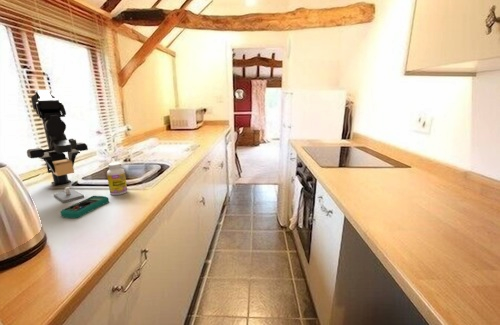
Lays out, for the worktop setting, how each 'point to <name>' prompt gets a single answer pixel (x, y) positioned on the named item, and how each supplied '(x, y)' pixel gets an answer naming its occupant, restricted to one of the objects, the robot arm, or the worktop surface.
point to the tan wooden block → (63, 167)
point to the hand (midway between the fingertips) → (63, 170)
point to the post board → (68, 195)
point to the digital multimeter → (84, 207)
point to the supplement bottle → (116, 179)
